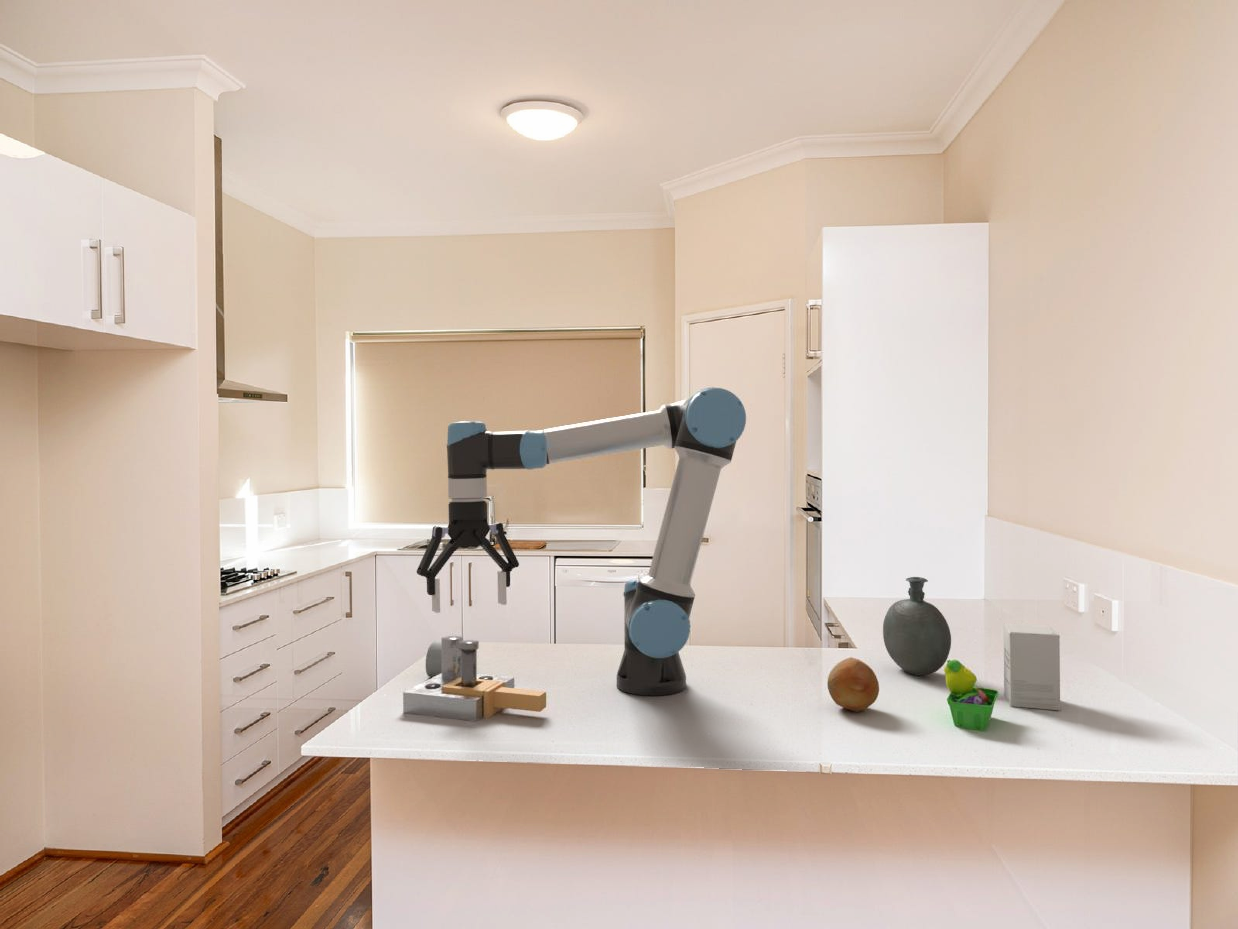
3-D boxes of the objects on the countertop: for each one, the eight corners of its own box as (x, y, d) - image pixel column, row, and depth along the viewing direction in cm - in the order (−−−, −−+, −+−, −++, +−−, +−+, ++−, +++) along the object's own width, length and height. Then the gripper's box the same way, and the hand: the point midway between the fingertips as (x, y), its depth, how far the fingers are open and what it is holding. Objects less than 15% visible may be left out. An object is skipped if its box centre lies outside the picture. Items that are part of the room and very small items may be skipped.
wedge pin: (465, 705, 155) (465, 639, 155) (482, 706, 154) (482, 640, 154) (455, 710, 152) (455, 643, 151) (472, 712, 150) (472, 645, 150)
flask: (909, 685, 168) (909, 584, 168) (875, 664, 185) (876, 572, 185) (960, 683, 169) (960, 583, 169) (922, 663, 186) (922, 571, 186)
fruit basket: (991, 735, 138) (992, 672, 138) (938, 726, 142) (938, 665, 142) (999, 717, 147) (999, 658, 147) (949, 709, 152) (949, 651, 152)
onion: (816, 705, 154) (816, 655, 154) (856, 699, 158) (856, 650, 158) (848, 721, 145) (848, 667, 145) (890, 714, 149) (890, 662, 149)
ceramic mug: (460, 682, 171) (460, 647, 171) (424, 680, 172) (424, 646, 172) (474, 669, 182) (474, 637, 182) (440, 668, 183) (440, 636, 183)
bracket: (550, 711, 151) (550, 686, 151) (535, 723, 144) (535, 696, 144) (460, 701, 157) (459, 677, 157) (441, 712, 151) (441, 686, 151)
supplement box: (1051, 698, 159) (1052, 625, 159) (1061, 711, 150) (1061, 634, 150) (1002, 693, 162) (1003, 622, 162) (1009, 706, 153) (1009, 631, 153)
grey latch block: (514, 696, 161) (514, 638, 161) (476, 721, 145) (476, 657, 145) (446, 689, 166) (446, 633, 166) (403, 712, 151) (403, 651, 150)
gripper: (518, 496, 162) (520, 597, 162) (399, 502, 149) (401, 611, 149) (533, 498, 155) (535, 603, 156) (409, 503, 143) (412, 618, 143)
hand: (470, 607), depth 153 cm, fingers open, 13 cm apart
